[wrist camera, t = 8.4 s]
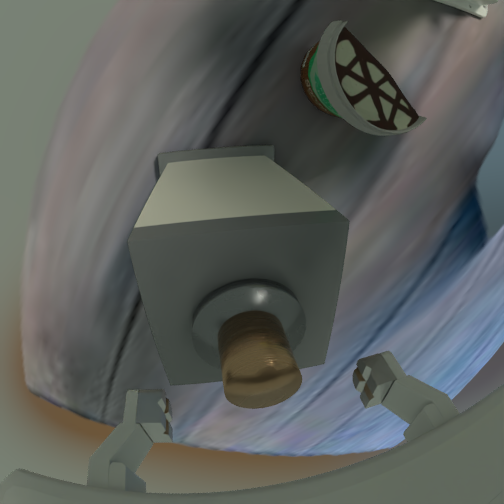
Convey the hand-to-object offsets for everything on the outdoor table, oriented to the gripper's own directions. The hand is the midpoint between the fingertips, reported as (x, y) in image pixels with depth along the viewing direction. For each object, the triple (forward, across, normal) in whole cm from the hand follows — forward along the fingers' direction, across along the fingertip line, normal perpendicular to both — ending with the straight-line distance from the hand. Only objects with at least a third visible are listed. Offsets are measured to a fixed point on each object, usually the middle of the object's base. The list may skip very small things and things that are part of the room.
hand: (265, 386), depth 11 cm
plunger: (+19, 0, 0) cm, 19 cm away
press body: (+24, 0, 0) cm, 24 cm away
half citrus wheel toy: (+24, -12, -12) cm, 29 cm away
